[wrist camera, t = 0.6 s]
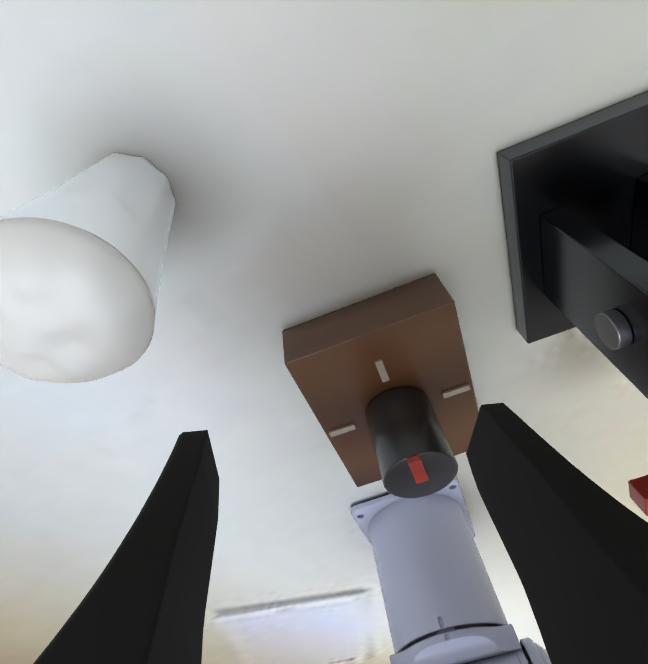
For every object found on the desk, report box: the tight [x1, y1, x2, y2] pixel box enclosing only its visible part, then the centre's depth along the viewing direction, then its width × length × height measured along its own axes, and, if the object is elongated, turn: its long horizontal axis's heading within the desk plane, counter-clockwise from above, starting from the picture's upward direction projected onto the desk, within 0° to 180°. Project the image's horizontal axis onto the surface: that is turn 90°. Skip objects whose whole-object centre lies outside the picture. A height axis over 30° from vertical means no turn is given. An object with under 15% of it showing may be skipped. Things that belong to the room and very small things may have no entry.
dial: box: [366, 387, 458, 498], centre depth 21 cm, size 3×3×4 cm
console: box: [282, 274, 479, 487], centre depth 23 cm, size 11×8×3 cm
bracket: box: [497, 91, 648, 399], centre depth 17 cm, size 10×7×8 cm
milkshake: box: [0, 153, 176, 383], centre depth 13 cm, size 4×5×10 cm
